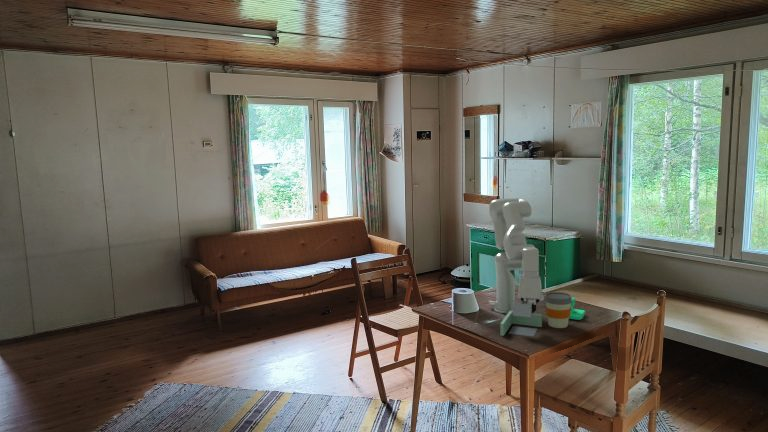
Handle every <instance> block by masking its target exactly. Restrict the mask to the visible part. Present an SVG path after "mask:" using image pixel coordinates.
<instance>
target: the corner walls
mask: <svg viewBox="0 0 768 432" xmlns="http://www.w3.org/2000/svg"><path fill="white" fill-rule="evenodd" d="M512 324H513V325H522V326H528V327H530V326H531V327H540V328H542V326H543V314H540V313H534V314H533V315H532V317H523V316H514V315H513V311H509V312H508V313H506V315H505V316H504V317H503V320H501V322H500V325H499V327H500V329H499V330H500V333H499V335H500V336H501V337H504V336H505V335H506V334H507V331H508V330H509V329H510V327H511V325H512Z"/></svg>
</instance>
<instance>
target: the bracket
mask: <svg viewBox="0 0 768 432" xmlns="http://www.w3.org/2000/svg"><path fill="white" fill-rule="evenodd" d="M532 305H533V299H528V300H527V303H523V302H522V301H515V302H513V315H514V316H523V317H532V315H533V314H535V312H534V313H532Z"/></svg>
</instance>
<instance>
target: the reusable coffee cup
mask: <svg viewBox="0 0 768 432" xmlns="http://www.w3.org/2000/svg"><path fill="white" fill-rule="evenodd" d="M572 298H573V297H572V295H571V294H570V293H567V292H566V293H565V292H562V291H561V292H559V291H553V292H552V291H551V292H548V293H545V296H544V301H545V315H546V316H547V317H546V318H547V324H548V326H549V327H552V328H556V329H565V328H567V327H568V325H569V320H570V319H569V317H570V313H571V303H572Z"/></svg>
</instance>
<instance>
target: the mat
mask: <svg viewBox="0 0 768 432" xmlns="http://www.w3.org/2000/svg"><path fill="white" fill-rule="evenodd" d="M537 331H538V328H534V327H523V326H517V325H513V326H512V328H511V329H510V331H509V332H508V335H515V336H524V337H532V338H533V337H535V334H536V333H537Z"/></svg>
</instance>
